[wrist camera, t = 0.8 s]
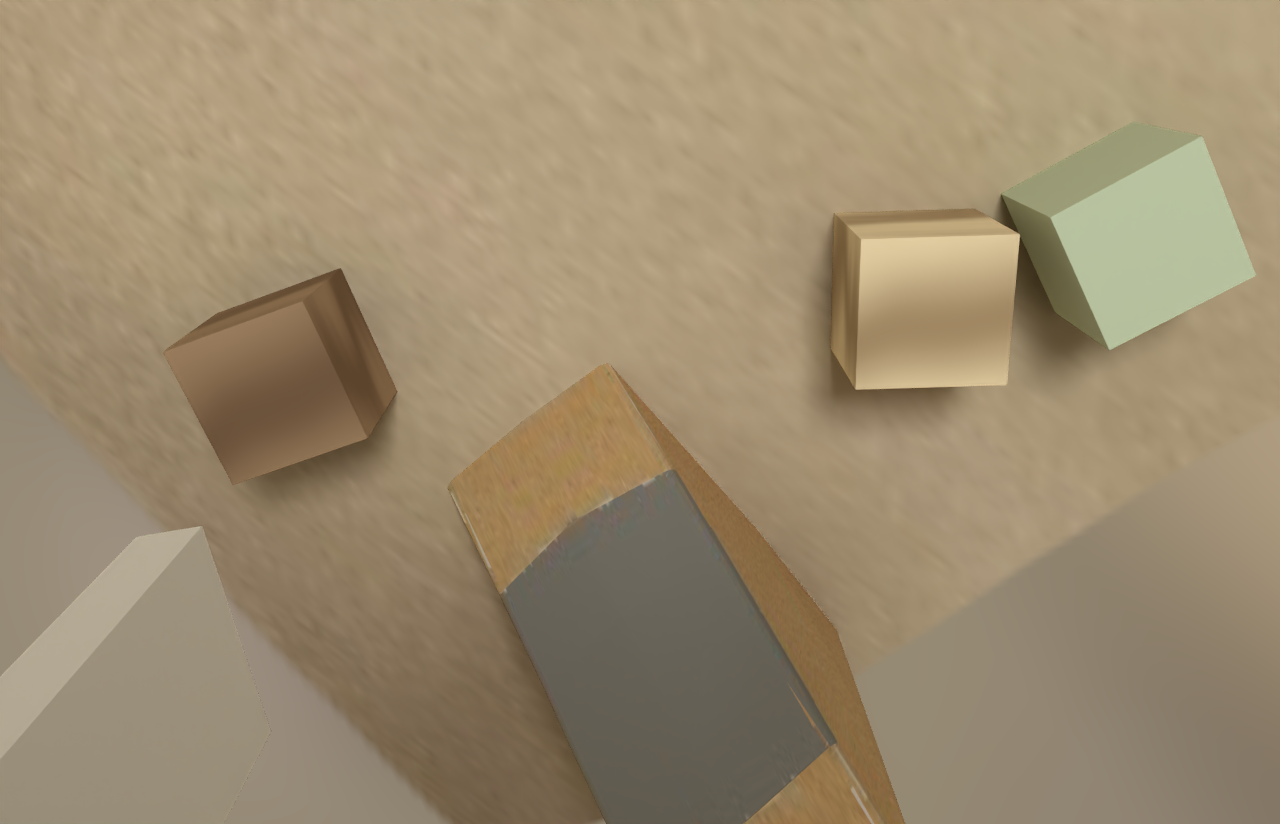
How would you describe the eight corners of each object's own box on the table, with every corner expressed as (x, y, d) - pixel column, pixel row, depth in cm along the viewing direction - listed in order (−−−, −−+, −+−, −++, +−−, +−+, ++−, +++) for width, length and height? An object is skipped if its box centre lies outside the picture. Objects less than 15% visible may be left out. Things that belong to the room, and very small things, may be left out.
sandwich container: (608, 349, 41) (596, 522, 27) (845, 628, 45) (941, 905, 31) (438, 483, 43) (342, 710, 29) (680, 740, 47) (700, 1049, 33)
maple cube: (833, 212, 39) (861, 239, 35) (973, 208, 39) (1019, 234, 35) (829, 346, 41) (855, 389, 36) (963, 342, 41) (1006, 385, 36)
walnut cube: (217, 313, 40) (162, 352, 36) (341, 267, 40) (302, 301, 35) (277, 432, 42) (233, 485, 37) (397, 390, 42) (367, 438, 37)
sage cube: (1000, 193, 39) (1050, 217, 34) (1131, 121, 38) (1202, 136, 34) (1054, 311, 41) (1109, 350, 36) (1182, 244, 40) (1256, 275, 35)
